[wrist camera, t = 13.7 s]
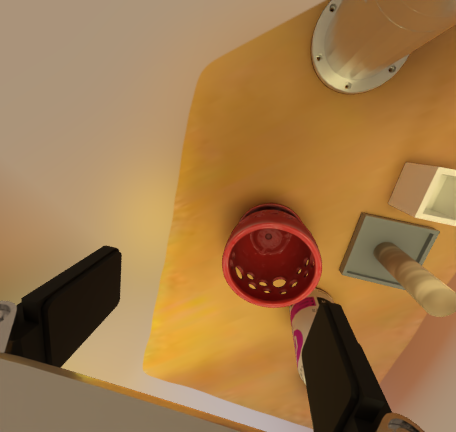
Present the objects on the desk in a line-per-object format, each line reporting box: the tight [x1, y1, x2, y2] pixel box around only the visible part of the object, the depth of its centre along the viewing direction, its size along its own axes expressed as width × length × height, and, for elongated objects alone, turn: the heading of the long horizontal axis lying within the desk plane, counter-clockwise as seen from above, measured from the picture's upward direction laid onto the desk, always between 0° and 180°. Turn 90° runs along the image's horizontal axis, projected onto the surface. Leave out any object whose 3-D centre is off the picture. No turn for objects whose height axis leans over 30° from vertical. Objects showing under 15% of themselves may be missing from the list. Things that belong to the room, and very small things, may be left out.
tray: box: [339, 213, 440, 290], centre depth 38 cm, size 11×11×2 cm
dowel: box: [374, 242, 456, 317], centre depth 32 cm, size 4×4×13 cm
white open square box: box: [388, 162, 456, 226], centre depth 32 cm, size 7×7×7 cm
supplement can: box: [289, 289, 334, 384], centre depth 37 cm, size 8×8×15 cm
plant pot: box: [222, 203, 322, 308], centre depth 36 cm, size 13×13×12 cm
